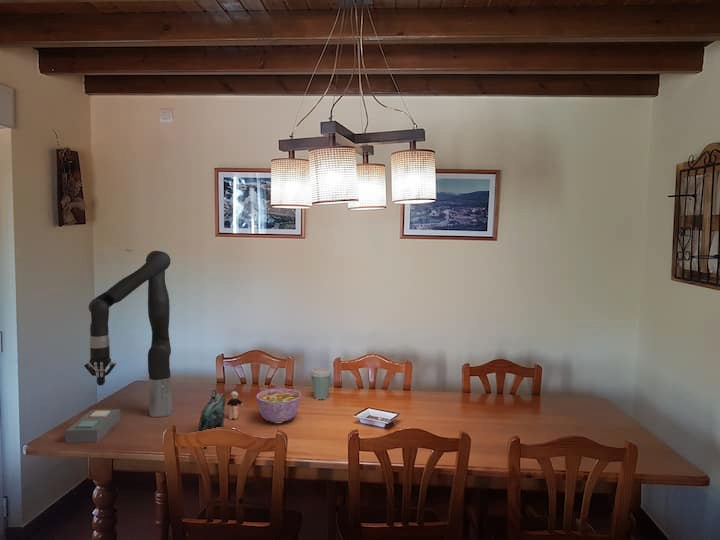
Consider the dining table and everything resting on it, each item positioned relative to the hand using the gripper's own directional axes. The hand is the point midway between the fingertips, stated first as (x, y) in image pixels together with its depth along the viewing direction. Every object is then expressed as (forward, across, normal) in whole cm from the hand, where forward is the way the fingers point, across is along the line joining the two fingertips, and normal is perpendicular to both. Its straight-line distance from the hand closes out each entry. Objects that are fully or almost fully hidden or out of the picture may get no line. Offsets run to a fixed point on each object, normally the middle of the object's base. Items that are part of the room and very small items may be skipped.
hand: (101, 384), depth 225 cm
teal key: (+15, 0, +13) cm, 20 cm away
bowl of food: (+19, -76, -3) cm, 78 cm away
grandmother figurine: (+18, -56, -5) cm, 59 cm away
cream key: (+15, 0, +1) cm, 15 cm away
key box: (+18, 0, +7) cm, 19 cm away
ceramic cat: (+18, -51, +18) cm, 57 cm away
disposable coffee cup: (+19, -95, -32) cm, 102 cm away
